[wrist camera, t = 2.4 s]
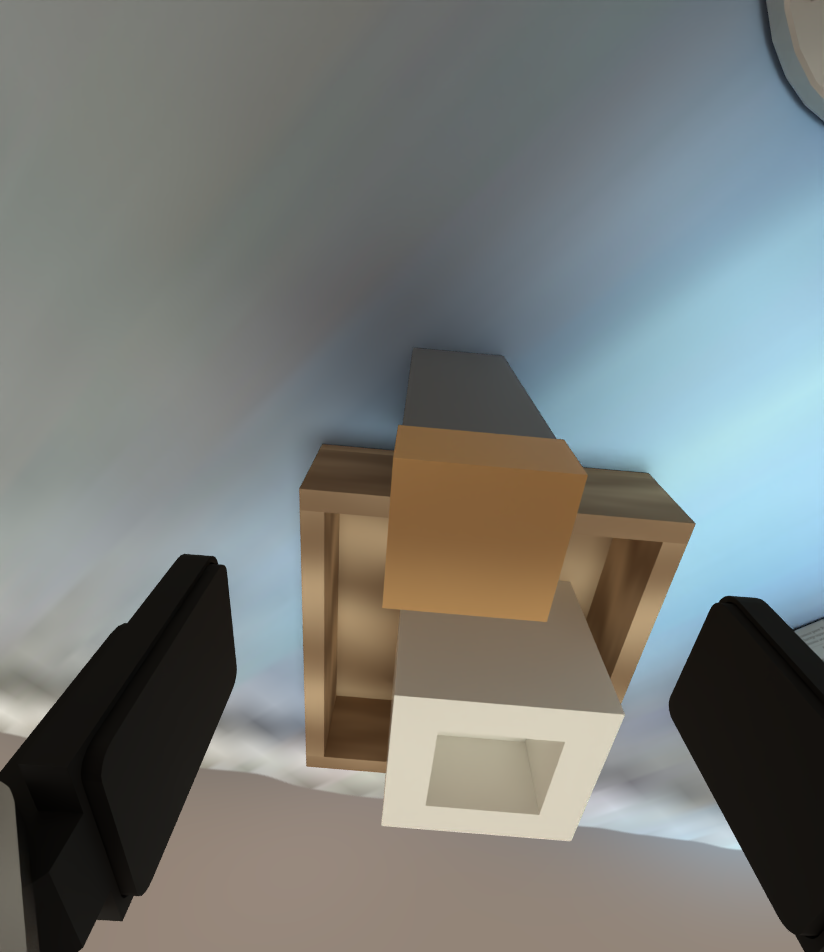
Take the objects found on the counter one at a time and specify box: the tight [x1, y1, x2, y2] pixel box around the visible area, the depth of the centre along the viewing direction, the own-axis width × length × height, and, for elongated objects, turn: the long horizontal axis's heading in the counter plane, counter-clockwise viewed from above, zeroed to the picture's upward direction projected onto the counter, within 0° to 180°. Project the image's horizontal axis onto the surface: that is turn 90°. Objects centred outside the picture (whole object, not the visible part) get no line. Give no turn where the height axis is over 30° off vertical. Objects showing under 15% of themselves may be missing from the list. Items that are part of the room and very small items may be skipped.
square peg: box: [382, 348, 588, 622], centre depth 17 cm, size 4×4×12 cm
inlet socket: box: [382, 581, 625, 841], centre depth 24 cm, size 9×9×8 cm
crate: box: [299, 444, 695, 773], centre depth 25 cm, size 18×16×5 cm
